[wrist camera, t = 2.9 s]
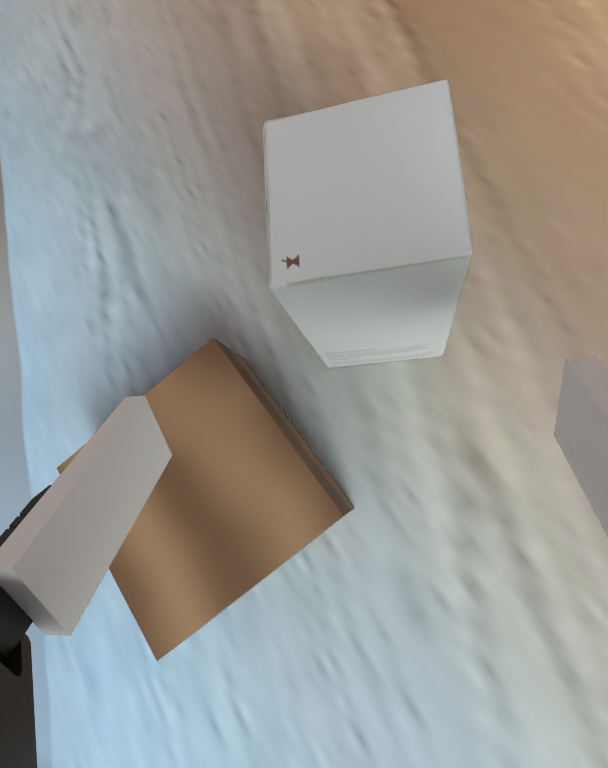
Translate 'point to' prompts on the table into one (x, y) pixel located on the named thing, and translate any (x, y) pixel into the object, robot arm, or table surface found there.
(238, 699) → the table surface
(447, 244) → the supplement box
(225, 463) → the walnut box
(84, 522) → the robot arm
